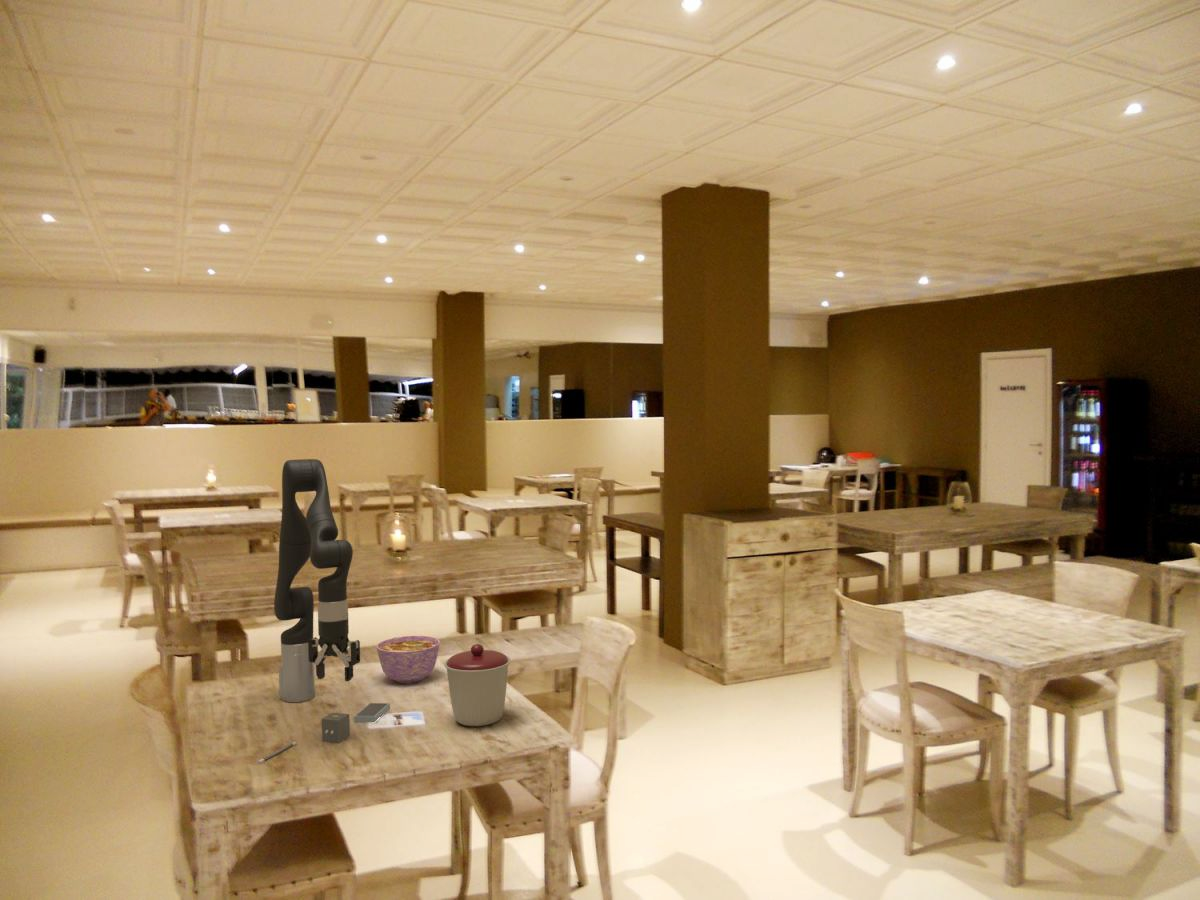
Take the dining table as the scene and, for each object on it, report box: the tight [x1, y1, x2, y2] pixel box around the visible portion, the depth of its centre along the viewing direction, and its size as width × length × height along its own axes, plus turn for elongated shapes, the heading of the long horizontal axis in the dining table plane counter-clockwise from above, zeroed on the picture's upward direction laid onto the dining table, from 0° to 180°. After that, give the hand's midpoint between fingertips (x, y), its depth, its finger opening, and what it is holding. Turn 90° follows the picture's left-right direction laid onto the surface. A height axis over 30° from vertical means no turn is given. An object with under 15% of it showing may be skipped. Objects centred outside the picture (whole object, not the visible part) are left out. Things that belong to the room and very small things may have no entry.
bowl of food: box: [376, 635, 441, 684], centre depth 274 cm, size 20×20×12 cm
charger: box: [321, 712, 351, 744], centre depth 223 cm, size 5×6×6 cm
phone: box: [353, 702, 391, 723], centre depth 241 cm, size 6×11×2 cm, turn 173°
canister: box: [443, 643, 512, 727], centre depth 235 cm, size 18×18×21 cm
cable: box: [258, 741, 297, 764], centre depth 214 cm, size 13×1×1 cm, turn 160°
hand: (334, 679), depth 223 cm, fingers open, 7 cm apart
